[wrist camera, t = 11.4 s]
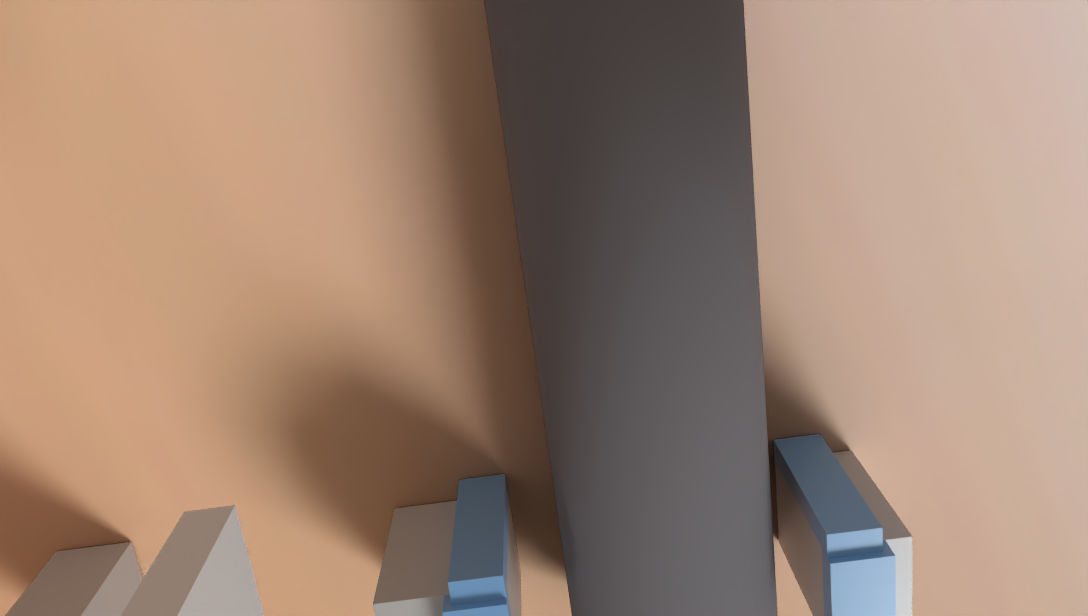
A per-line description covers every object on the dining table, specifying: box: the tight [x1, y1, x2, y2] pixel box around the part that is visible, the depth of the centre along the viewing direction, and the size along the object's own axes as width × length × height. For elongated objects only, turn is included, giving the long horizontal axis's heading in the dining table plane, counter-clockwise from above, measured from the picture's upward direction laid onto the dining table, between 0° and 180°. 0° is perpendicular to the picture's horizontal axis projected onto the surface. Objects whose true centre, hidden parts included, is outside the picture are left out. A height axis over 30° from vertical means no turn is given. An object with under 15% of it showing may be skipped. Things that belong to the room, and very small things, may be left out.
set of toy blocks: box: [5, 434, 912, 616], centre depth 23 cm, size 21×3×5 cm, turn 97°
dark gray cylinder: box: [484, 0, 778, 616], centre depth 21 cm, size 5×17×5 cm, turn 7°
